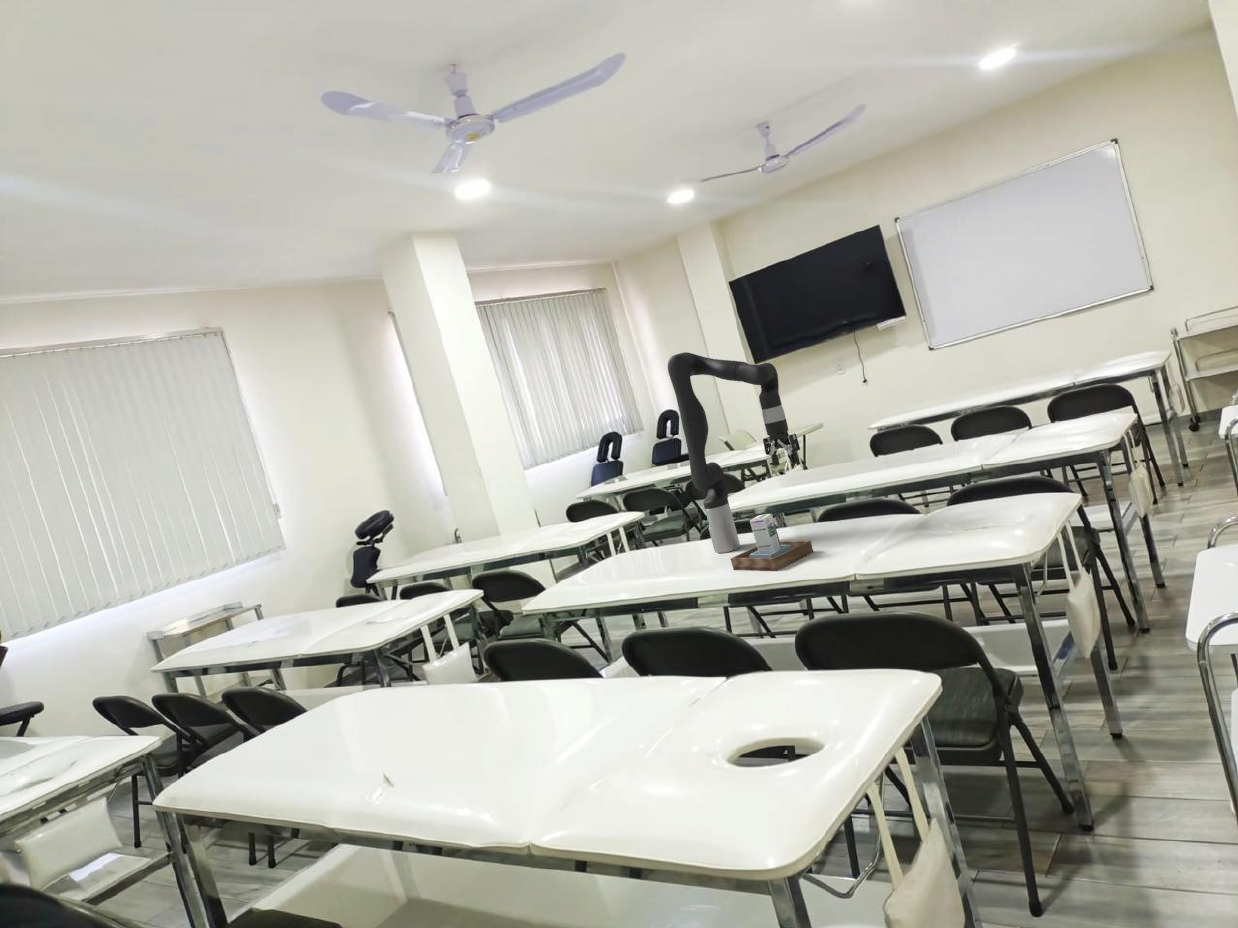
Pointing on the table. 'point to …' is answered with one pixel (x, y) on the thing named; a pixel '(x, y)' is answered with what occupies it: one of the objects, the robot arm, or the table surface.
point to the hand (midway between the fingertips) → (786, 464)
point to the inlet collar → (772, 555)
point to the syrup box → (765, 534)
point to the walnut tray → (772, 564)
